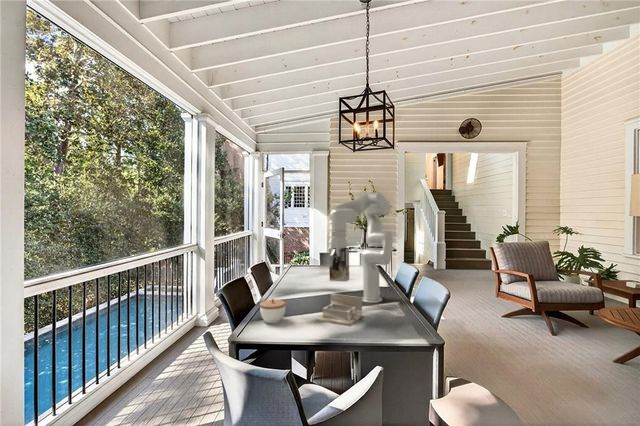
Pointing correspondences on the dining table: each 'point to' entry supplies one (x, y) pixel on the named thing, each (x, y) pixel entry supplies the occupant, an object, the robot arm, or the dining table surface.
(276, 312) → the lidded bowl
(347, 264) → the coffee box
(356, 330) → the dining table surface
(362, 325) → the dining table surface
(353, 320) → the open wooden box
